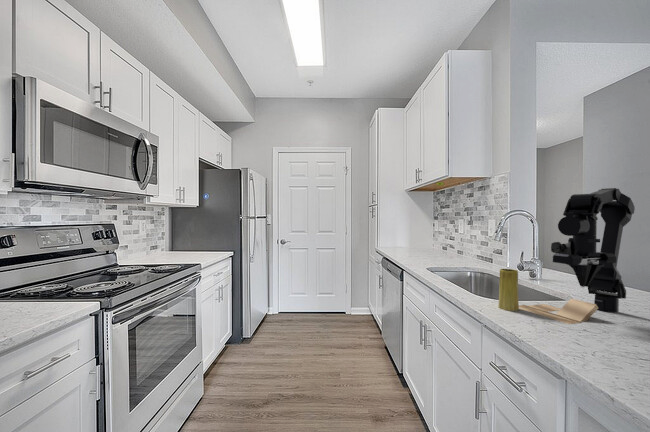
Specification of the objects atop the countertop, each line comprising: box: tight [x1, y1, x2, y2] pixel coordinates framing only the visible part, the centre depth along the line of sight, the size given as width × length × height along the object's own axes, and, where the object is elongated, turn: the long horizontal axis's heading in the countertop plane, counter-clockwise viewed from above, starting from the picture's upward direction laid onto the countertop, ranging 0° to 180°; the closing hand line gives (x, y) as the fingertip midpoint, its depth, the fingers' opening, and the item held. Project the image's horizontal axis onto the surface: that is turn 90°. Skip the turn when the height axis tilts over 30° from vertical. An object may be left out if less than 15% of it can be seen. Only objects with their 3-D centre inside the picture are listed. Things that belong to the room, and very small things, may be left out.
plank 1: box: [529, 303, 561, 313], centre depth 112 cm, size 8×8×1 cm
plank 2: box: [556, 298, 598, 323], centre depth 101 cm, size 8×8×1 cm
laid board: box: [519, 304, 583, 325], centre depth 105 cm, size 5×20×2 cm, turn 17°
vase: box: [498, 268, 520, 312], centre depth 110 cm, size 6×6×14 cm
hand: (584, 286), depth 101 cm, fingers closed
